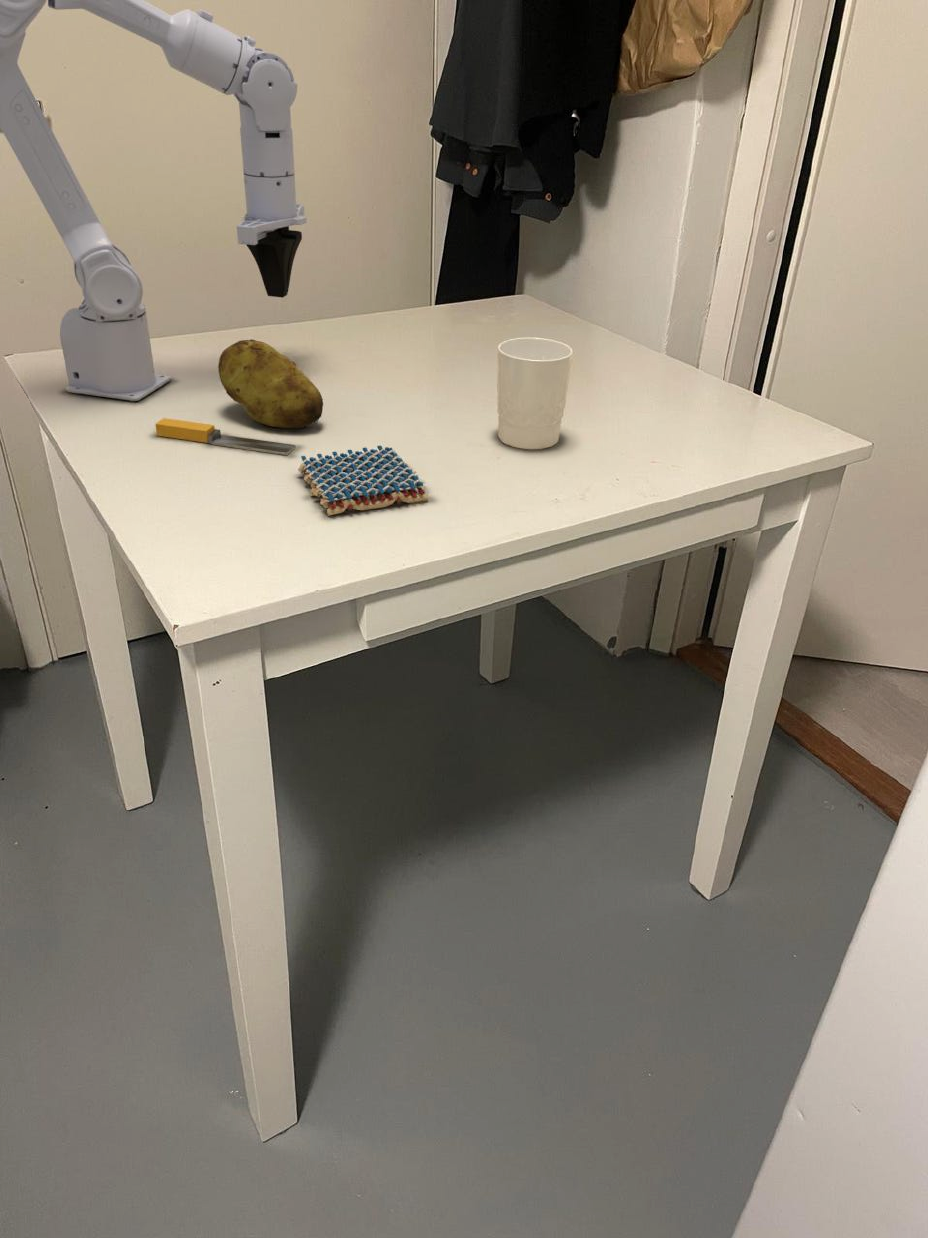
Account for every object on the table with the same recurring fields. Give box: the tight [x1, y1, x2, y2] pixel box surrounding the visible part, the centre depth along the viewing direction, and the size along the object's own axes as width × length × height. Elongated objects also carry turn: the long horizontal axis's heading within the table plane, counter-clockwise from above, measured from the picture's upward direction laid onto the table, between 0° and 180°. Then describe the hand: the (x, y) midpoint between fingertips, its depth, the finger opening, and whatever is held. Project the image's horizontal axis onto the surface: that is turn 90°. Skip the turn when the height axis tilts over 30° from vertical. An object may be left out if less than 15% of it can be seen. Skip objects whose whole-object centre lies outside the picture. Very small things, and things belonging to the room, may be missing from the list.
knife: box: [155, 417, 296, 456], centre depth 102 cm, size 15×2×1 cm, turn 75°
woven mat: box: [297, 445, 430, 516], centre depth 93 cm, size 10×11×2 cm
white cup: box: [496, 337, 574, 450], centre depth 103 cm, size 8×8×10 cm
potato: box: [217, 338, 324, 429], centre depth 106 cm, size 8×13×8 cm, turn 37°
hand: (277, 295), depth 117 cm, fingers closed
